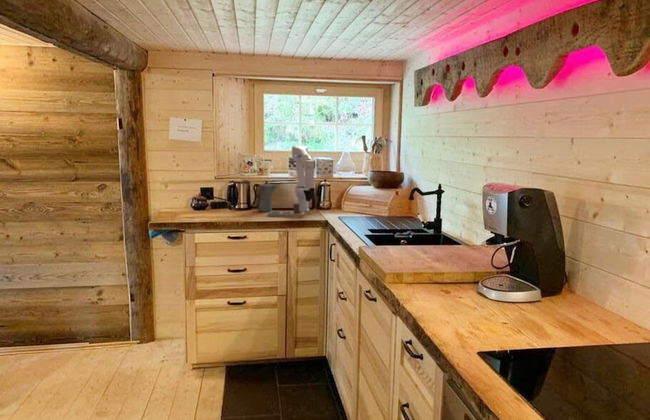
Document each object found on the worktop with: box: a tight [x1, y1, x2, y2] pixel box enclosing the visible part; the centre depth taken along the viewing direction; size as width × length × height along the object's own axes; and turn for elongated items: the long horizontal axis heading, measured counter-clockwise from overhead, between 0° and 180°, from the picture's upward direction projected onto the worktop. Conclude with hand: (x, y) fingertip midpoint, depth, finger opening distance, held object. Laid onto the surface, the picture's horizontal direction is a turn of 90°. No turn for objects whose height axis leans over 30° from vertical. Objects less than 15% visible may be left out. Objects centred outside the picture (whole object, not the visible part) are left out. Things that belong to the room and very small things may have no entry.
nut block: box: [293, 202, 301, 214], centre depth 301 cm, size 4×4×8 cm
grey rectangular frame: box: [267, 210, 306, 218], centre depth 302 cm, size 8×22×2 cm, turn 82°
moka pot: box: [252, 180, 277, 213], centre depth 317 cm, size 10×15×20 cm, turn 89°
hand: (309, 200), depth 306 cm, fingers open, 7 cm apart
